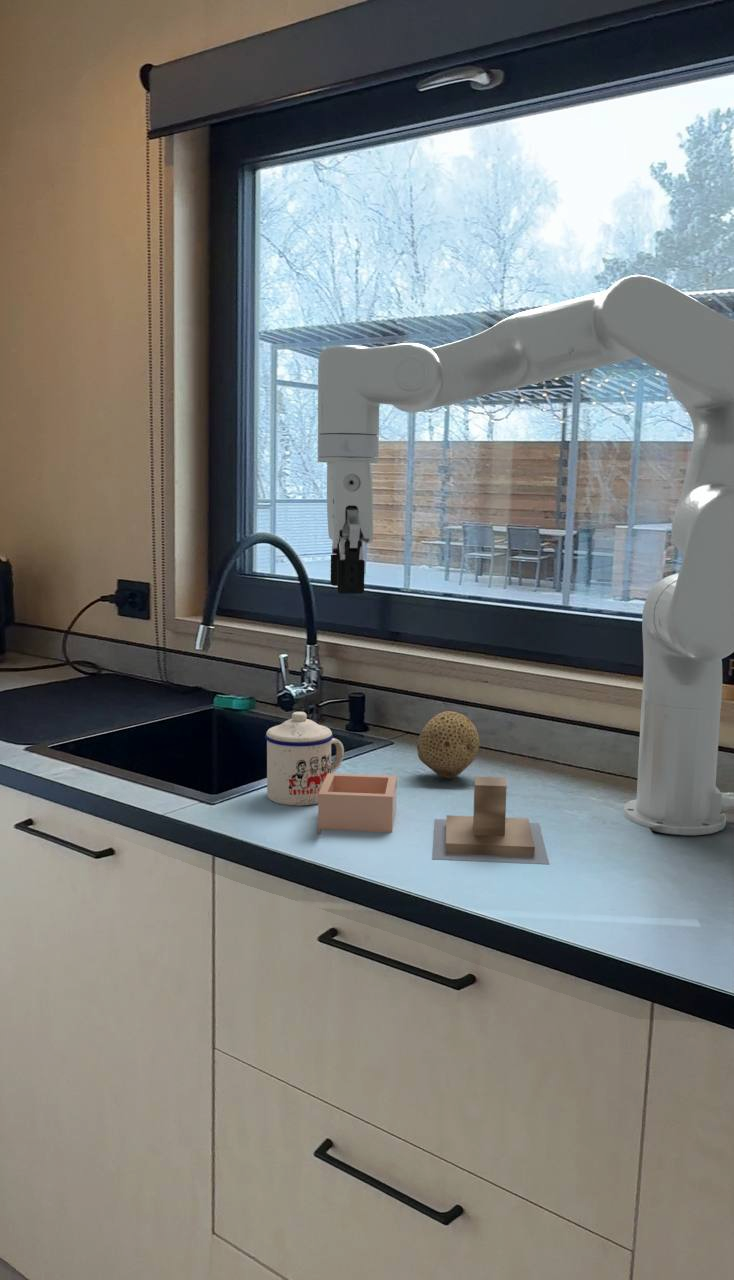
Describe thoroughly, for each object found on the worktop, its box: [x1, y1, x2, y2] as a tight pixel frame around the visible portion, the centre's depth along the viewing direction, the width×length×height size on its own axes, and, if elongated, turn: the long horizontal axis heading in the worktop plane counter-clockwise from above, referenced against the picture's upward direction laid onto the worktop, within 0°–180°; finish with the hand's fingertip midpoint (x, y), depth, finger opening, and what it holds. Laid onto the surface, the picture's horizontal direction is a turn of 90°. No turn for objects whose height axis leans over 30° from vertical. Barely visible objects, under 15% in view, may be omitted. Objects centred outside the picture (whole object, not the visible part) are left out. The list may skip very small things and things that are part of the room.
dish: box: [317, 772, 398, 835], centre depth 128 cm, size 9×9×5 cm
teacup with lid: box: [264, 711, 345, 807], centre depth 139 cm, size 12×9×12 cm
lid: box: [446, 775, 535, 857], centre depth 120 cm, size 10×10×7 cm
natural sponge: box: [416, 710, 480, 780], centre depth 147 cm, size 9×9×10 cm
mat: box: [431, 818, 550, 866], centre depth 121 cm, size 13×14×1 cm
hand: (346, 589), depth 128 cm, fingers open, 9 cm apart
